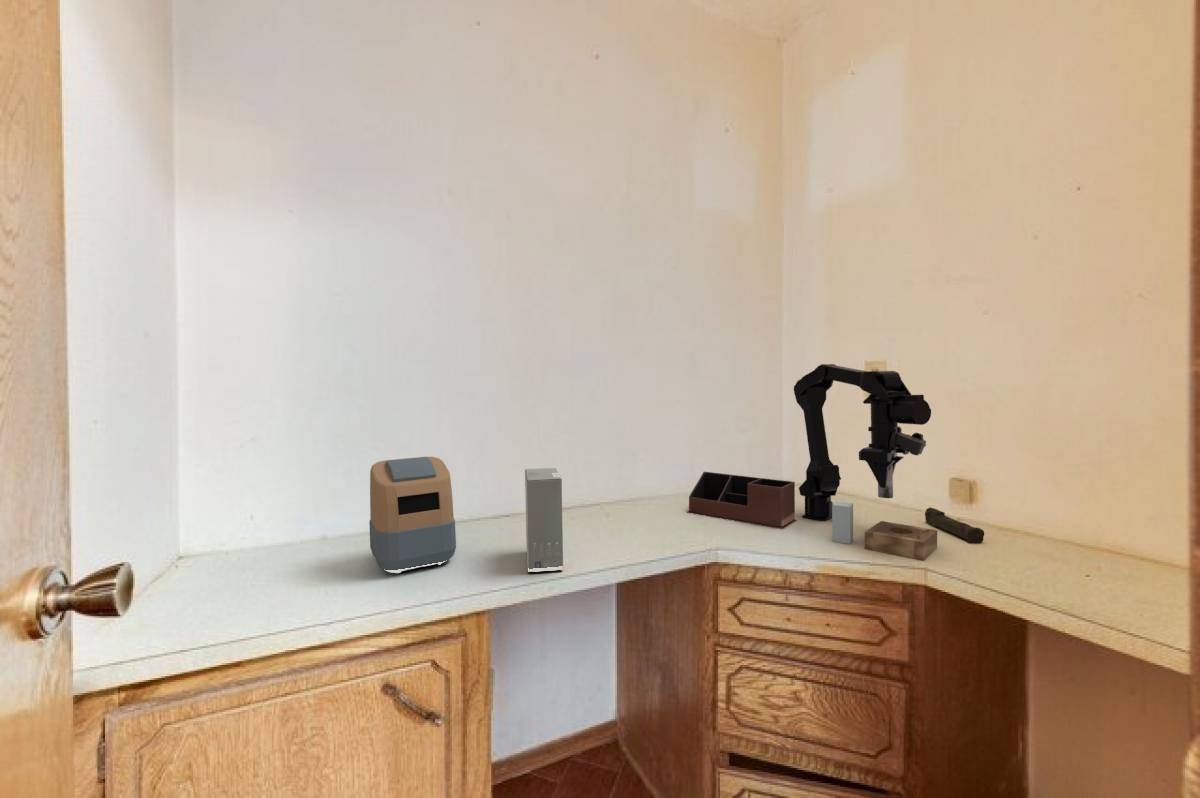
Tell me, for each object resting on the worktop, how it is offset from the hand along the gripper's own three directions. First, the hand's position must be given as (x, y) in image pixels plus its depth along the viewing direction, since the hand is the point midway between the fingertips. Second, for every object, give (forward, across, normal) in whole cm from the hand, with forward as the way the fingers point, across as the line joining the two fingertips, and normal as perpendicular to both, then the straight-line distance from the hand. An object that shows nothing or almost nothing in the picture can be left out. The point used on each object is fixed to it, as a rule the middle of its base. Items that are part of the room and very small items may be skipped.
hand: (885, 486), depth 128 cm
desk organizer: (+13, -3, +38) cm, 40 cm away
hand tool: (+14, +17, -10) cm, 24 cm away
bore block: (+13, -4, -4) cm, 14 cm away
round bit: (+2, 0, 0) cm, 2 cm away
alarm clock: (+13, -84, +74) cm, 113 cm away
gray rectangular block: (+13, -7, +8) cm, 17 cm away
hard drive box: (+13, -64, +52) cm, 84 cm away
